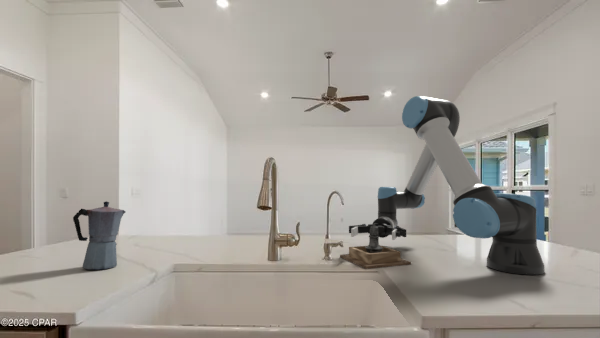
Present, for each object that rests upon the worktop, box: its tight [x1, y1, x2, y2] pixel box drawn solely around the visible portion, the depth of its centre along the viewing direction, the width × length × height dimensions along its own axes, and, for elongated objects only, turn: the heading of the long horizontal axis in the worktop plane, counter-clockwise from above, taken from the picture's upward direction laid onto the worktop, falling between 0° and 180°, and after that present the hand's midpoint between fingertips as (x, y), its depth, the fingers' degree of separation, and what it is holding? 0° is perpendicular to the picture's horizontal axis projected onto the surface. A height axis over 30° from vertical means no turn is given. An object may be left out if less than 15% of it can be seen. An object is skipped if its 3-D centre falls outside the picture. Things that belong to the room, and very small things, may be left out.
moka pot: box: [72, 200, 126, 270], centre depth 99 cm, size 10×15×20 cm, turn 155°
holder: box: [339, 244, 412, 270], centre depth 111 cm, size 17×17×4 cm
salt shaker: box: [365, 222, 383, 253], centre depth 111 cm, size 6×6×12 cm
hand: (372, 234), depth 109 cm, fingers open, 13 cm apart
